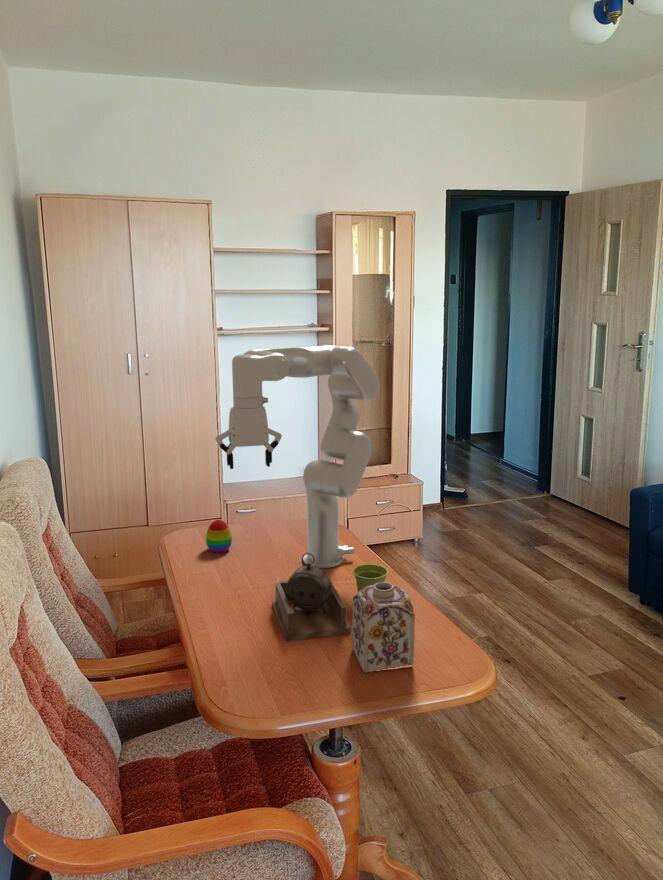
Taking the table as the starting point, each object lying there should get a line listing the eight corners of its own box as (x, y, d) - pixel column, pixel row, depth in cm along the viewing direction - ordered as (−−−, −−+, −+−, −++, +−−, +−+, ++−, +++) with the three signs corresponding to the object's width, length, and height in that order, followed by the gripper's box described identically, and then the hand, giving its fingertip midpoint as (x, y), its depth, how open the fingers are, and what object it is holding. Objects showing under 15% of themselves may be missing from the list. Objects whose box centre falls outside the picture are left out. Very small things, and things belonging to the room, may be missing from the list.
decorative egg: (211, 544, 234) (210, 515, 232) (235, 546, 233) (234, 516, 231) (202, 553, 226) (201, 523, 224) (227, 555, 225) (226, 525, 223)
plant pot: (394, 603, 192) (395, 573, 190) (365, 611, 187) (365, 580, 185) (374, 590, 200) (375, 561, 198) (346, 598, 195) (346, 568, 193)
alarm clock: (332, 611, 184) (332, 551, 181) (324, 620, 179) (324, 559, 176) (292, 604, 188) (291, 546, 184) (284, 613, 183) (283, 554, 179)
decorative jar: (414, 669, 160) (416, 594, 156) (364, 675, 158) (364, 599, 154) (398, 642, 172) (400, 572, 168) (351, 648, 169) (351, 577, 165)
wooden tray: (330, 598, 195) (330, 576, 194) (350, 633, 176) (350, 608, 175) (272, 604, 191) (271, 582, 190) (285, 641, 172) (285, 616, 171)
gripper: (278, 399, 191) (279, 461, 195) (213, 401, 187) (215, 465, 191) (283, 403, 184) (284, 468, 188) (215, 406, 180) (218, 472, 184)
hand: (249, 466), depth 190 cm, fingers open, 9 cm apart
